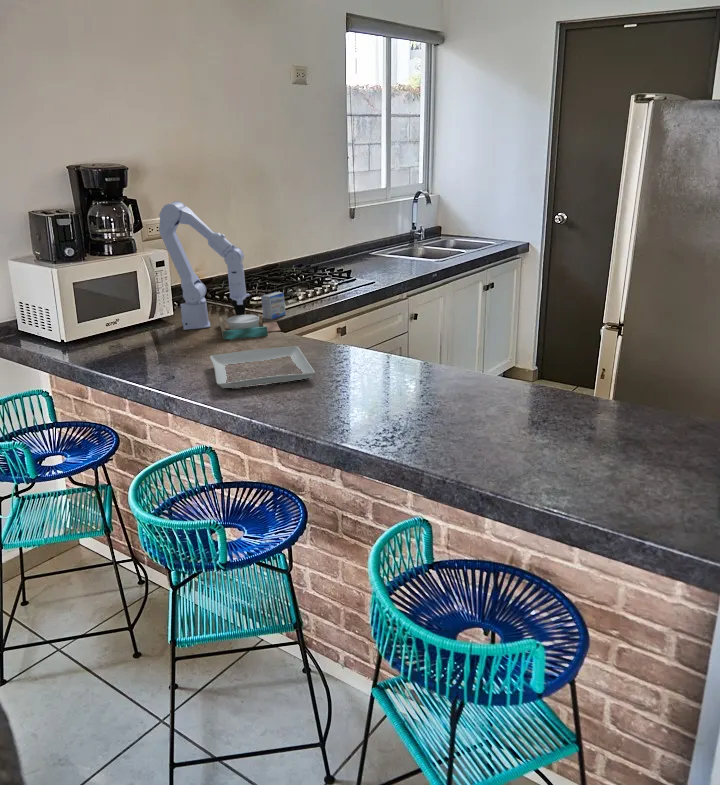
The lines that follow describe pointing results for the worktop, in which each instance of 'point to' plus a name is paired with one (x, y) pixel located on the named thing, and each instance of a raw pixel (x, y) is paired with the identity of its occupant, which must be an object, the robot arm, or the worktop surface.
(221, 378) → the square plate
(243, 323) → the ramekin
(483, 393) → the worktop surface
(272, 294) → the medicine box
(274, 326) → the lane
